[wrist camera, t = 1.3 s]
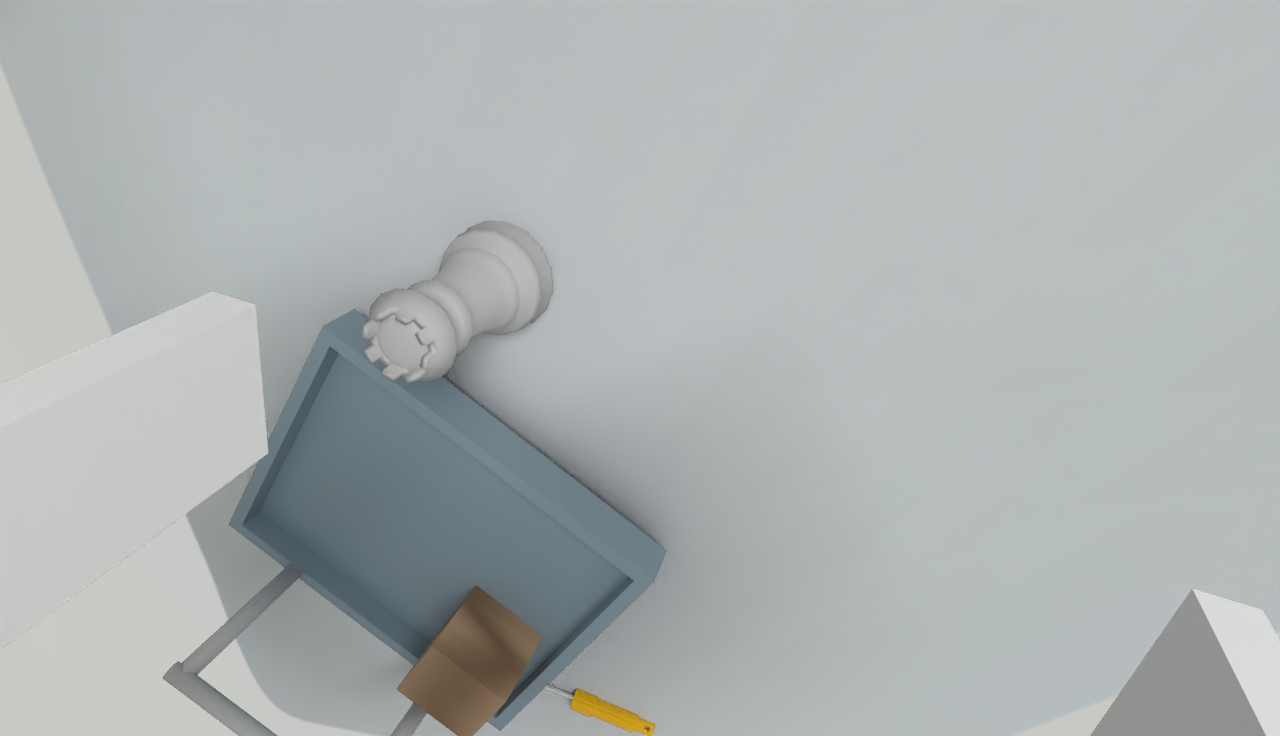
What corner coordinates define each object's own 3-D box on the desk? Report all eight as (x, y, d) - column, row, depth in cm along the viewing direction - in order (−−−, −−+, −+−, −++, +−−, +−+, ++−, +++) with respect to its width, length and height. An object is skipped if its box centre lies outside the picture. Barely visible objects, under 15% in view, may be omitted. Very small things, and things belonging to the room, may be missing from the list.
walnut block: (441, 627, 38) (396, 689, 35) (476, 584, 36) (432, 646, 33) (505, 676, 38) (466, 742, 35) (543, 636, 36) (505, 702, 33)
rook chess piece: (485, 194, 30) (361, 250, 23) (577, 262, 30) (480, 339, 23) (441, 280, 32) (315, 355, 25) (526, 343, 32) (425, 435, 25)
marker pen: (383, 621, 43) (652, 732, 40) (371, 632, 42) (647, 747, 39) (392, 579, 42) (666, 690, 40) (381, 589, 41) (662, 703, 38)
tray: (368, 301, 34) (173, 410, 25) (672, 536, 34) (591, 728, 25) (272, 491, 41) (92, 630, 32) (525, 684, 41) (419, 876, 32)
